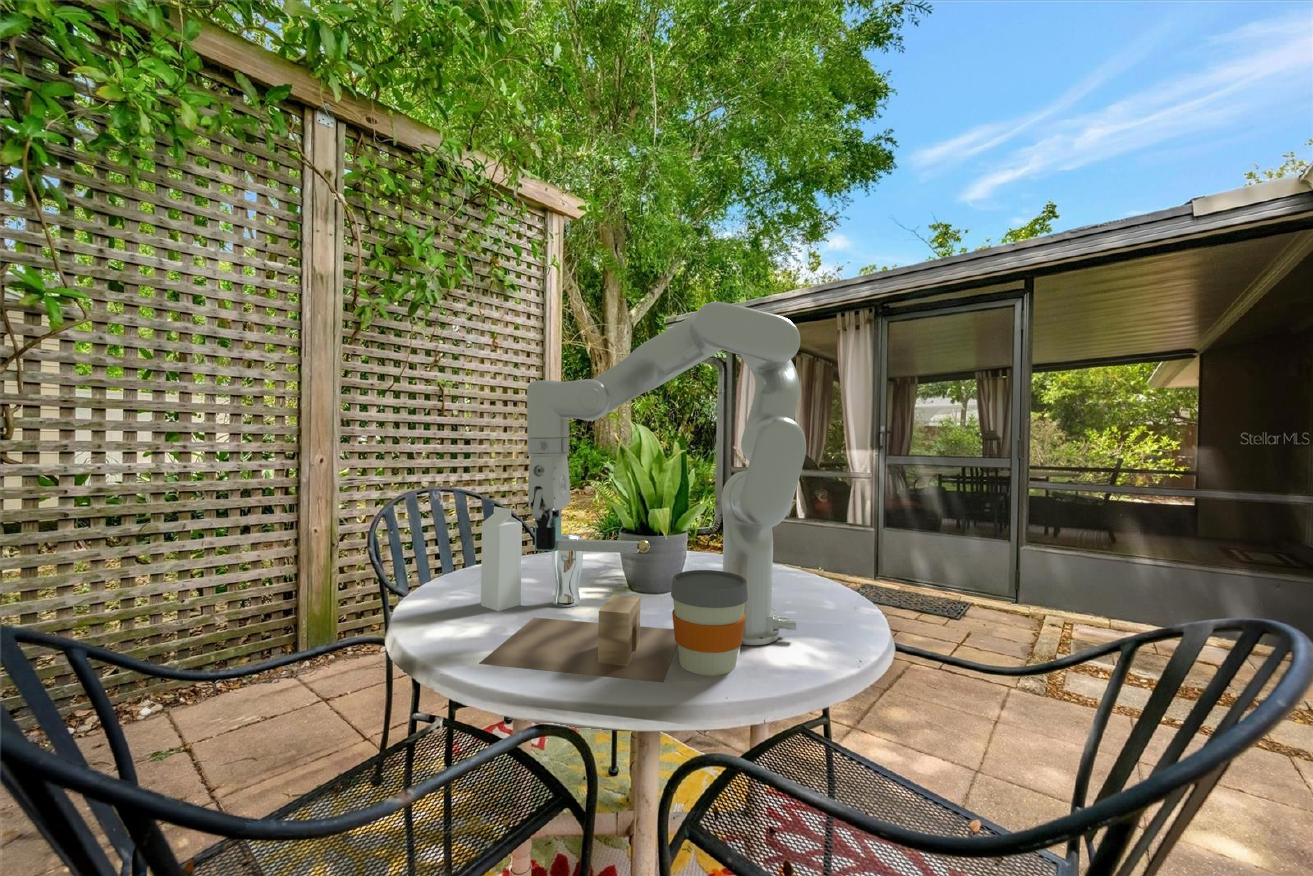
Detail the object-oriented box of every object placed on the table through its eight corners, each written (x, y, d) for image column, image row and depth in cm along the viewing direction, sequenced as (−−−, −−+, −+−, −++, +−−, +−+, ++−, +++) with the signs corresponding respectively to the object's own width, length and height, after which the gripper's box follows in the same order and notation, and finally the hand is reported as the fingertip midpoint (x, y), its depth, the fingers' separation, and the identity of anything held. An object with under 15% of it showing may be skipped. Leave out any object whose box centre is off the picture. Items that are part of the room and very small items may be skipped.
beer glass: (579, 608, 120) (580, 540, 120) (547, 607, 120) (549, 539, 120) (584, 599, 127) (585, 534, 127) (554, 598, 127) (555, 533, 127)
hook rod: (651, 550, 100) (651, 517, 100) (648, 554, 97) (648, 520, 97) (541, 547, 104) (540, 515, 104) (534, 550, 101) (534, 517, 101)
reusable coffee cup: (683, 692, 83) (685, 592, 82) (659, 658, 95) (661, 571, 95) (759, 683, 86) (761, 587, 86) (727, 651, 98) (729, 568, 98)
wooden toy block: (639, 644, 98) (640, 596, 98) (627, 665, 89) (628, 613, 88) (612, 642, 98) (613, 594, 98) (597, 663, 89) (598, 610, 89)
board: (682, 636, 105) (682, 629, 105) (663, 690, 83) (663, 682, 83) (533, 623, 110) (533, 617, 110) (478, 671, 88) (478, 663, 88)
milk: (497, 617, 114) (499, 511, 114) (480, 610, 118) (481, 508, 117) (521, 609, 119) (522, 507, 118) (503, 604, 122) (505, 505, 122)
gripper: (552, 449, 93) (552, 557, 93) (580, 446, 109) (581, 539, 110) (510, 449, 94) (511, 556, 95) (544, 446, 111) (545, 538, 111)
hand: (548, 546), depth 102 cm, fingers closed on hook rod, 3 cm apart
